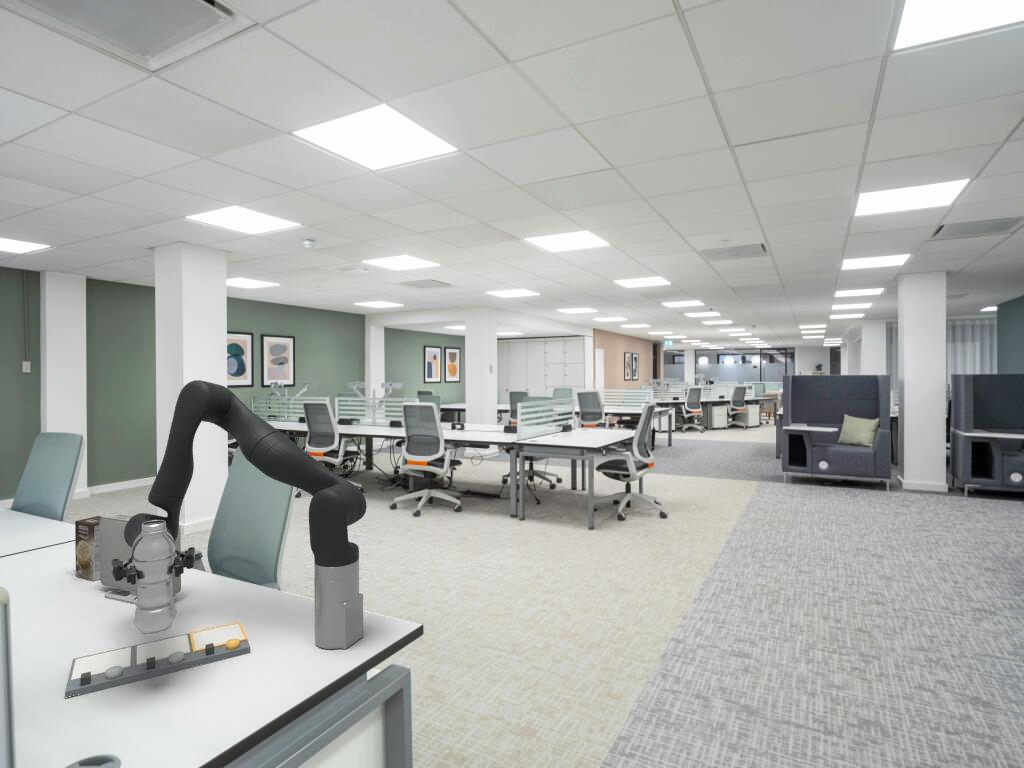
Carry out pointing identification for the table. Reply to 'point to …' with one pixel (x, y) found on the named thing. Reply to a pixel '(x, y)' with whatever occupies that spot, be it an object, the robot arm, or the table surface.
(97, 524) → the coffee box
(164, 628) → the plastic bottle
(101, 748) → the table surface
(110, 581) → the network device
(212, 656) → the board
